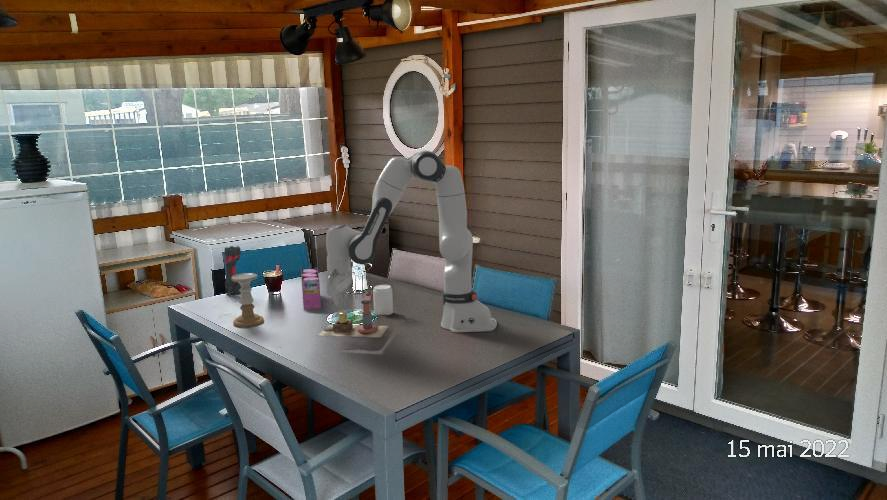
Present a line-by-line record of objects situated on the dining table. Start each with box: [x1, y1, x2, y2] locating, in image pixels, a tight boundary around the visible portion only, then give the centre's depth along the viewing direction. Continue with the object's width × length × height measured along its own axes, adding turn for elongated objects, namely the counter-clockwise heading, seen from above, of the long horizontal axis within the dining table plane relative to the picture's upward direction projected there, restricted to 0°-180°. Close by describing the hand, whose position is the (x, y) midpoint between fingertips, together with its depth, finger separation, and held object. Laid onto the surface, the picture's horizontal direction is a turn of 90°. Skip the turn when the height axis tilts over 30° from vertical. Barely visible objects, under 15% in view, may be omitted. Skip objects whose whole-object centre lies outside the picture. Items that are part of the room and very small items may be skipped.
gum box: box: [300, 267, 322, 311], centre depth 295 cm, size 24×8×14 cm, turn 12°
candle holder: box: [231, 272, 265, 328], centre depth 266 cm, size 12×12×20 cm
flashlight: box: [224, 245, 242, 296], centre depth 312 cm, size 8×8×23 cm
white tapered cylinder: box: [372, 284, 394, 316], centre depth 274 cm, size 8×8×12 cm
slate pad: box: [322, 326, 333, 331], centre depth 253 cm, size 4×4×1 cm
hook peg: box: [338, 311, 348, 325], centre depth 251 cm, size 3×3×7 cm
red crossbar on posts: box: [357, 292, 379, 333], centre depth 253 cm, size 15×8×12 cm, turn 3°
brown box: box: [332, 319, 354, 333], centre depth 252 cm, size 6×6×3 cm
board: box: [317, 323, 390, 338], centre depth 251 cm, size 25×13×2 cm, turn 81°
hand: (340, 301), depth 250 cm, fingers open, 8 cm apart
